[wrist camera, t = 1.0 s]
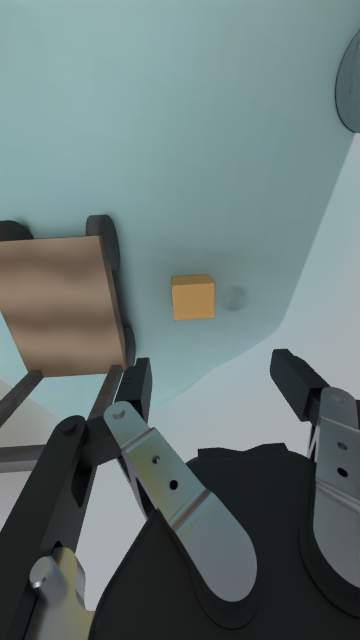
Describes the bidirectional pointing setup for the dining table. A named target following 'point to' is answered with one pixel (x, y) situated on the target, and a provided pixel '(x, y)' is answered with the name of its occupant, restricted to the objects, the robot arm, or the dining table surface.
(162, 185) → the dining table surface
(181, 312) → the block
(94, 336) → the trolley
